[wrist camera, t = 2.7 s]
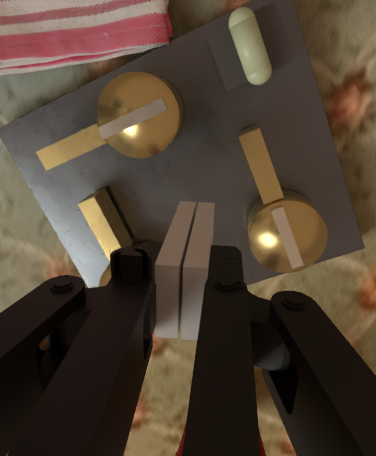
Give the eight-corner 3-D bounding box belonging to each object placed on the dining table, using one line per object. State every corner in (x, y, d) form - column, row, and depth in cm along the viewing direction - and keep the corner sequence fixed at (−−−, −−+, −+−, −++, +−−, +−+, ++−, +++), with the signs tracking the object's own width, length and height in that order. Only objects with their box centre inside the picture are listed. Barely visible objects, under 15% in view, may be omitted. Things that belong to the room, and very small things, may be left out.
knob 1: (164, 59, 28) (155, 55, 24) (195, 133, 30) (190, 140, 26) (39, 121, 30) (12, 126, 27) (74, 185, 32) (54, 199, 28)
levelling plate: (8, 127, 33) (-5, 129, 31) (283, -11, 27) (287, -18, 25) (117, 316, 40) (111, 327, 38) (357, 239, 34) (364, 248, 32)
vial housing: (204, 32, 27) (201, 24, 23) (269, 0, 26) (275, -14, 22) (228, 97, 29) (229, 99, 25) (290, 69, 27) (300, 67, 24)
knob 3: (325, 241, 32) (338, 262, 28) (260, 262, 33) (264, 285, 29) (283, 112, 28) (291, 116, 24) (212, 142, 30) (210, 150, 26)
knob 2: (181, 288, 35) (175, 313, 31) (127, 306, 36) (116, 331, 33) (127, 178, 32) (113, 190, 28) (69, 202, 33) (49, 217, 29)
